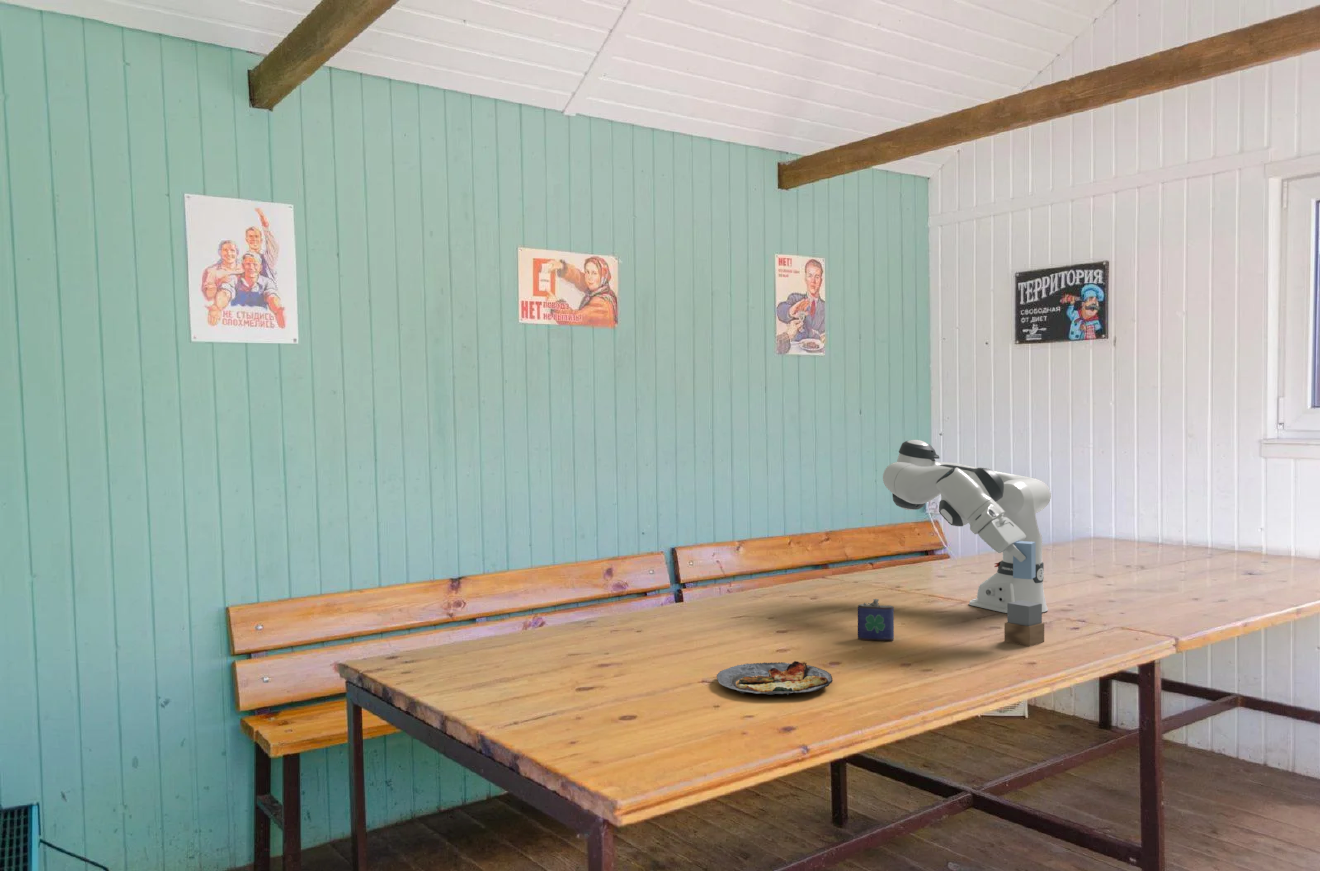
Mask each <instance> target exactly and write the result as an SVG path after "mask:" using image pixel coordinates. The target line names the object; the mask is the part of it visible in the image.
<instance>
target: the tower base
mask: <svg viewBox="0 0 1320 871" xmlns="http://www.w3.org/2000/svg"><path fill="white" fill-rule="evenodd" d="M1003 634H1004V638H1003V639H1004V642H1005V643H1006V642H1007V643H1010V644H1015V645H1021V646H1025V647H1026V646H1027V647H1032V646H1036V645H1039V644H1043V643H1045V623H1044V622H1042V623H1040V624H1036V625H1032V626H1024V625H1019V624H1013V623H1008V622H1007V621H1005V622H1004V633H1003Z"/></svg>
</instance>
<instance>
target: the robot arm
mask: <svg viewBox="0 0 1320 871" xmlns="http://www.w3.org/2000/svg"><path fill="white" fill-rule="evenodd" d="M898 453H899V454H898V457H897V460H896V461H895V462H892V463H890V464H889V465H888V466H886V468H885V469H884V471H883V474H882V480H883V482H882V483H883V484H884V486H885V487H886V489H888V491H889V492H891V493H892V494H891V496H892V501H893V502H894V504H895V506H897V507H899V508H901V509H903V510H908V511H915V510H917V511H918V510H920V509H922V508H924V506H925V505H926V504H927V503H929V502H931V501H933V500H935V498H937V497H939V496H940V501H939V502H938V512H939V514H940V515H941V516H942V518H944V520H945V521H946V522H947V523H948V524H949V525H951V526H953V527H964V526H965V525H968V524H969V525H970V526H969V530H970V531H971V532H972V533H973V534H974V535H978V537H979V538H981V540H983V542H984V543H986V545H988V546H989V547H990V548H991V549H992V550H994V551H995V552H996V553H998V554H1001V553H1002V560H1000V561H998V562H996V563H994V568H997V570H996V573H994V574H993V575H991V576H990V577H988V578H987V579H985V580H984V581H983V582H981V583H980V584H979V586H978V590H977V593H976V594H977V595H976V598H973V599H970V600H969V606H973V607H976V608H977V607H978V608H982V609H986V610H990V611H994V612H995V611H996V612H1000V613H1003V614H1007V603H1010V602H1015V601H1019V600H1022V601H1029V602H1035V603H1041V604H1042V613H1045V612H1048V611H1049V609H1048V605H1047V601H1046V597H1045V591H1044V580H1045V579H1044V577H1045V576H1044V575H1045V574H1044V572H1045V570H1044V569H1045V566H1044V562H1043V536H1042V534H1041V532H1040V529H1039V526H1038V521H1037V516H1036V514H1037V513H1040V512H1041V511H1043V510H1044V509H1045V508H1046V507H1047V506H1048V505H1049V503H1050V501H1051V498H1052V493H1051V492H1052V491H1051V490H1050V489H1051V488H1049V485H1048V484H1047V483H1045V482H1044V481H1043V480H1041V479H1038V478H1035V477H1030V476H1024V475H1019V474H1013V473H1008V472H1004V471H1003V472H1001V471H996V470H993V469H991V468H987V467H976V466H972V465H968V464H964V463H959V462H951V461H936V459H938V460H939V459H940V456H939V454H937V453H936V450H935V448H934V447H933V446H932V445H931V444H929V443H928V442H925V441H923V440H920V439H911V440H910V439H909V440H905V441H903V442H902V443H901V445H900V447H899V450H898ZM1018 541H1028V542H1036V577H1035V578H1033V579H1020V578H1013V556H1014V557H1016V558H1017V559H1018V560H1019V561H1020V562H1022V561H1024V560H1025V559H1026V558H1027V557H1026V556H1025V555H1024V553H1023V552H1022V553H1021V552H1020V551H1019V550H1018V549H1017V548H1016V546H1015V545H1014V543H1016V542H1018Z"/></svg>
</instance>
